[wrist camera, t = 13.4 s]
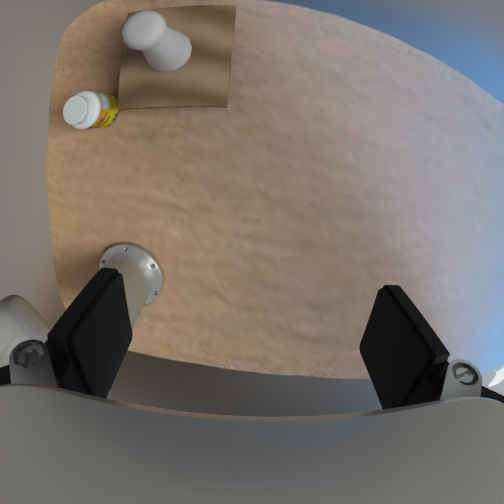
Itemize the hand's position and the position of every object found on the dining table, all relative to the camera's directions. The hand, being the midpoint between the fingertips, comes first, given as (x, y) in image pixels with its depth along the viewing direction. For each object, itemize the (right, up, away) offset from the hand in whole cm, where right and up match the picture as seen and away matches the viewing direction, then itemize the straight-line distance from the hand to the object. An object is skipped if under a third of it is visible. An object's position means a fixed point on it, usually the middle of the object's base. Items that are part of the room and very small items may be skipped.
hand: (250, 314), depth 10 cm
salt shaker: (-10, +28, +21) cm, 36 cm away
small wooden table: (-10, +30, +26) cm, 41 cm away
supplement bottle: (-23, +25, +29) cm, 44 cm away
